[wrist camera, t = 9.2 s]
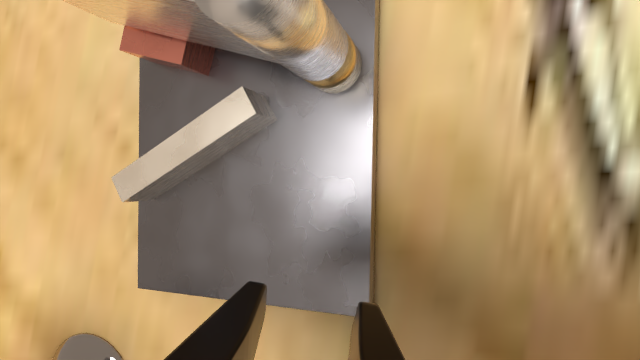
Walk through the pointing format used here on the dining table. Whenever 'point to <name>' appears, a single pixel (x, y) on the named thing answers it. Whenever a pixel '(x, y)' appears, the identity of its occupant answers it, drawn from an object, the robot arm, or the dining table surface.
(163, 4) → the swing bar
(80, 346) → the wine glass
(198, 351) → the robot arm
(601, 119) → the dining table surface
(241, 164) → the base
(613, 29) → the dining table surface
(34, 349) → the dining table surface
